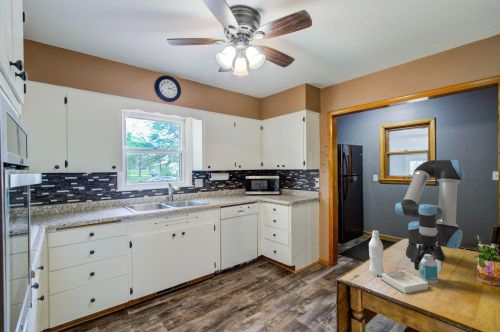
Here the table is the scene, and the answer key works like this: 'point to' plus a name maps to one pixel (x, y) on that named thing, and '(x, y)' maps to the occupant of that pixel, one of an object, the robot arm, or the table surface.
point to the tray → (404, 281)
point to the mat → (399, 290)
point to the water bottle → (376, 255)
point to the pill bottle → (429, 269)
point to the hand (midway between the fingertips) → (428, 274)
